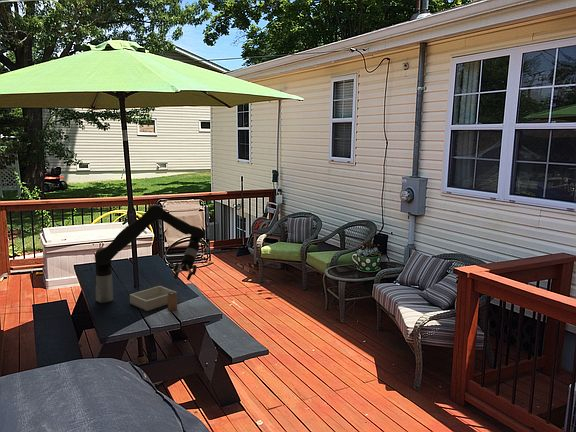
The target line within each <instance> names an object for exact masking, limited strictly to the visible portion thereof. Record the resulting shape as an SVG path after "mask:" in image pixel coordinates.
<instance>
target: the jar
mask: <svg viewBox="0 0 576 432" xmlns="http://www.w3.org/2000/svg"><path fill="white" fill-rule="evenodd" d="M176 292H177V291H175V292H169V293H167V299H168V304H167V311H169V312H174V311H175V312H176V311H177V310H178V292H177V293H176Z"/></svg>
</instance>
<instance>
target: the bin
mask: <svg viewBox="0 0 576 432" xmlns="http://www.w3.org/2000/svg"><path fill="white" fill-rule="evenodd" d="M169 292H176V293H177V294H178V292H177V291H175V290H172V289H170V288H167V287H164V286H163V285H157V286H154V287H151V288H148V289H145V290H139V291H136V292H134V293H131V294H129V304H131V305H133V306H135V307H137V308H139V309H141V310H144V311H146V312H147V311H152V310H154V309H157V308H160V307H163V306H166V305H167V306H168V299H167V293H169Z"/></svg>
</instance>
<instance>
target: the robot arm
mask: <svg viewBox="0 0 576 432" xmlns="http://www.w3.org/2000/svg"><path fill="white" fill-rule="evenodd" d="M157 220H159V221H162V222H164V223H166V224H168V225H169V226H171V227H172V228H174V230H176V231H178V232H180V233H182V234H183V235H190V237H189V243H188V245H187V248H186V250H185V252H184V254H183V258H182V259H181V263H178V262H176V264H175V266H174V268H173V272H174V275H173V278H174V279H175V280H178V277H179V274H180V273H183V272H187V273H188V274H187V277H186V280H187V281H190V280H191V278H192V276H194V275H196V272H197V268H198V266H197V265H196V264H195V260H196V258H197V254H198V252H199V249H200V241H202V239H204V238H205V236H206V235H205V234H206V233H205V231H204V230H203V229H202V228H201V227H197V226H195V225H191V224H190V223H187V221H184V220H182V219H180V218H178V217H177V216H174V215H172V214H171V213H170V212H168V211H167V210H166V209H164V208H163V207H161V205H159V204H158V203H157V204H156V203H152V204H150V205H149V206H148V208H147V210H146V211H145V212H144V214H142V215H141V217H139V218H137V219H136V220H135V221H132V222H131V223H130V224H128V225H127V226H125V227H124V228H122V230H121V231H120V232H118V234H117V235H116V236H115V237H114V239H113V240H112V241H111V243H109V244H108V245H106V247H101V248H98V249H97V250H96V251H95V254H94V262H95V278H96V279H95V280H96V285H95V286H94V287H95V300H96V301H97V302H98V303H100V304H103V303H104V304H105V303H110V302H112V301H114V290H113V287H114V286H113V273H112V272H113V270H112V259H113V258H114V257H115V256H117V255H118V253H119V252H121V251H122V250H124V248H126V247H127V246H129V244H131V243H132V242H134V240H136V239H137V238H138V237H139V236H140V235H141V234H143V232H144V231H145V230H146V229H147V228H148V227H150V225H152V224H153V223H154V222H156V221H157Z"/></svg>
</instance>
